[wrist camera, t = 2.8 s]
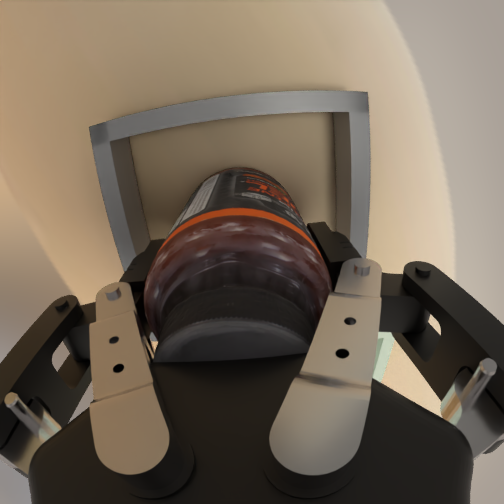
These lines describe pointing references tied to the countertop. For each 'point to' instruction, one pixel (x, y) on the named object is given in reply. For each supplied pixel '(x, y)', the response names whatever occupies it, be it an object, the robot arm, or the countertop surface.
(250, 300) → the supplement bottle
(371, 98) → the countertop surface
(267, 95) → the holder
